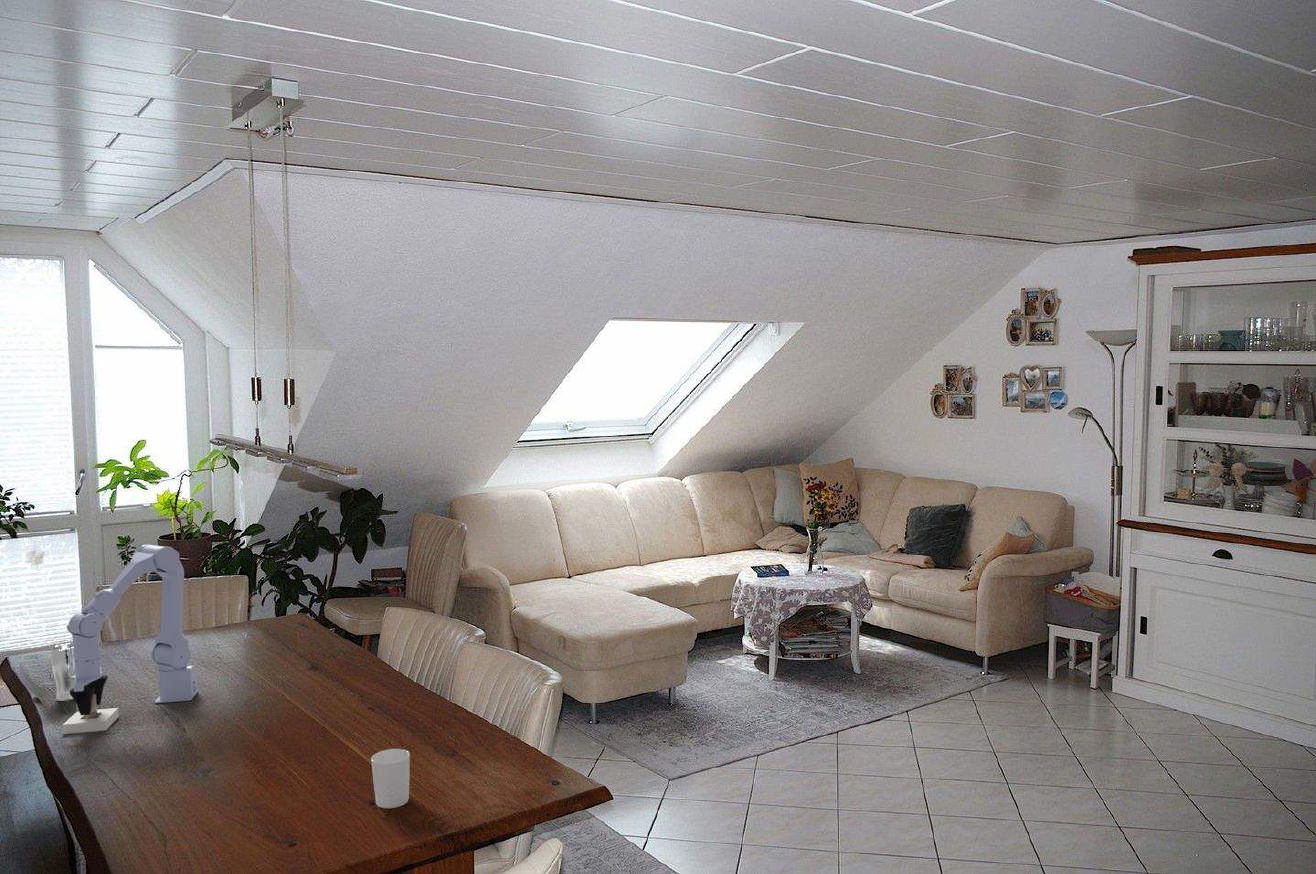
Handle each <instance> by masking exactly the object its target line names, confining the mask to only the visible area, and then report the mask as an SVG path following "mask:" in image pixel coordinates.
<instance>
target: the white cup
mask: <svg viewBox="0 0 1316 874" xmlns="http://www.w3.org/2000/svg"><path fill="white" fill-rule="evenodd" d="M410 758H411V753H410V751H408V750H406V749H404V748H403V749H402V748H388V749H384V750H381V751H378V752H376V753H374V754H373V755H371V758H370V759H371V771H372V783H373V789H374V797H375V799H374V800H375V804H376V807H379V808H382V809H394V808H399V807H401V806H404V805H405V804H407V803H408V802H409V799H410V774H411V773H410V770H411V767H410V765H411V763H410V762H411V761H410Z"/></svg>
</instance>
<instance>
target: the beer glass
mask: <svg viewBox="0 0 1316 874" xmlns="http://www.w3.org/2000/svg"><path fill="white" fill-rule="evenodd" d="M50 650H51V652H50V653H51V654H50V655H51V656H50V657H51V658H50V659H51V668H52V674H53V677H54V681H55V686H56V696H55V701H56V702H58V701H66V702H70V700H72V701H75V700H74V699H73V697H72V696H71V695H70V690H71V689H72V688H74V684H75V680H71V677H72V676H74V675H75V661H74V647H73V642H72V643H63V644H58V645H54V646H53V647H51V649H50Z"/></svg>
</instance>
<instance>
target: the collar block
mask: <svg viewBox="0 0 1316 874" xmlns="http://www.w3.org/2000/svg"><path fill="white" fill-rule="evenodd" d="M119 717H120V713H119V707H113V708H102V709H97V718H93V719H84V715H80V712H79V711H77V710H76V712H75V713H74V714H73V715H72V716H71V717H70V718H68V719H67V720H66V721H65V722H64V723H62V732H63V733H62V734H63V735H69V734H70V733H71V734H79V733H80V734H81V733H93V732H104V731H107V730H108V729H109V728H110V727H111V726H112V725H113V724H114V723H115V722H116V721H117V719H119Z"/></svg>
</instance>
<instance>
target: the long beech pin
mask: <svg viewBox="0 0 1316 874" xmlns="http://www.w3.org/2000/svg"><path fill="white" fill-rule="evenodd" d="M97 707H98V705H97V704H96V694H93V697H92V703H91V712H90V714H89V715H84V719H93V718H97V710H98V708H97Z"/></svg>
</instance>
